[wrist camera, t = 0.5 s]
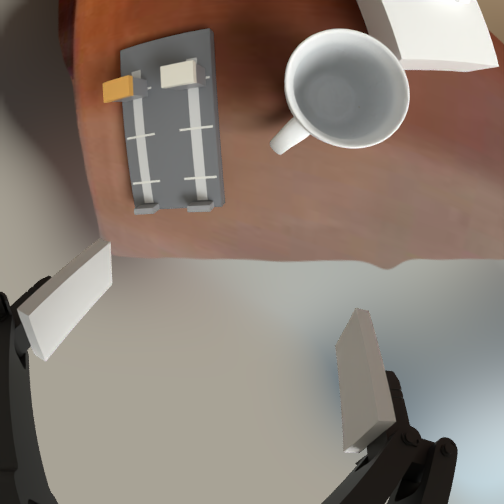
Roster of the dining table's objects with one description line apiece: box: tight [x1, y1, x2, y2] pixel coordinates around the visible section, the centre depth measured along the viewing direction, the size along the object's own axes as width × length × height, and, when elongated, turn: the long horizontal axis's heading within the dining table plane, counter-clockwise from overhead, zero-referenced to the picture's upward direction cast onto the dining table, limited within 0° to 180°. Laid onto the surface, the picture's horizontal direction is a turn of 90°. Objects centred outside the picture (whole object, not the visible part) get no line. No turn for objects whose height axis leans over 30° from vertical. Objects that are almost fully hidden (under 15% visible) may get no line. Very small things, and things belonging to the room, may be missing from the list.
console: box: [120, 28, 225, 215], centre depth 33 cm, size 24×13×4 cm, turn 3°
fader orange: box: [103, 75, 148, 103], centre depth 29 cm, size 3×4×5 cm
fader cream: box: [160, 60, 206, 90], centre depth 28 cm, size 3×4×5 cm
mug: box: [270, 29, 410, 154], centre depth 26 cm, size 15×11×13 cm
